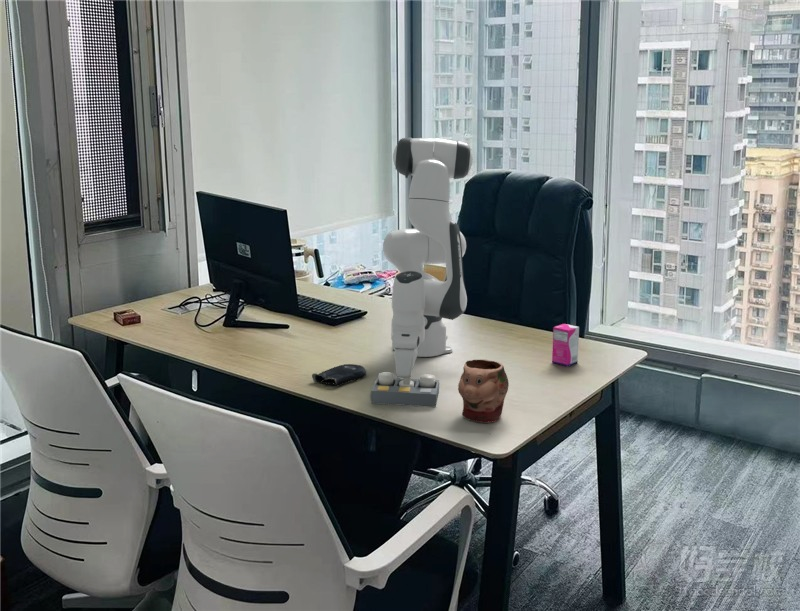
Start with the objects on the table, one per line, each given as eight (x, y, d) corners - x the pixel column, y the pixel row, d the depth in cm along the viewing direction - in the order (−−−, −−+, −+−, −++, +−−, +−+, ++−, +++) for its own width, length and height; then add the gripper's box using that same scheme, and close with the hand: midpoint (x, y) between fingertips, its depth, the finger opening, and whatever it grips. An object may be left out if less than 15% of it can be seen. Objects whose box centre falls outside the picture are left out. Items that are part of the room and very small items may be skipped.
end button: (379, 380, 231) (379, 371, 230) (394, 381, 230) (394, 372, 230) (377, 385, 227) (377, 376, 226) (392, 386, 227) (392, 377, 226)
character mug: (470, 398, 228) (472, 348, 224) (515, 404, 224) (518, 354, 220) (448, 424, 210) (450, 371, 206) (496, 432, 206) (499, 378, 202)
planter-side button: (420, 382, 230) (420, 373, 229) (435, 383, 229) (435, 374, 229) (419, 387, 226) (419, 378, 225) (434, 388, 225) (434, 379, 225)
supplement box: (561, 358, 263) (564, 322, 260) (578, 363, 259) (580, 326, 256) (550, 362, 259) (553, 326, 256) (567, 367, 255) (569, 330, 252)
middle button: (400, 388, 231) (400, 379, 230) (414, 389, 230) (414, 380, 230) (398, 393, 227) (398, 384, 226) (413, 394, 226) (413, 385, 226)
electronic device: (339, 395, 234) (373, 373, 245) (334, 376, 232) (369, 355, 243) (314, 392, 239) (348, 371, 251) (309, 373, 238) (345, 353, 249)
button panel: (377, 389, 234) (377, 376, 233) (438, 392, 232) (439, 379, 231) (371, 403, 223) (371, 389, 222) (435, 407, 221) (436, 393, 220)
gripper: (400, 322, 235) (399, 369, 238) (391, 343, 215) (390, 395, 218) (423, 323, 234) (422, 371, 237) (416, 344, 214) (415, 396, 218)
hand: (407, 382), depth 228 cm, fingers closed, pressing on middle button
